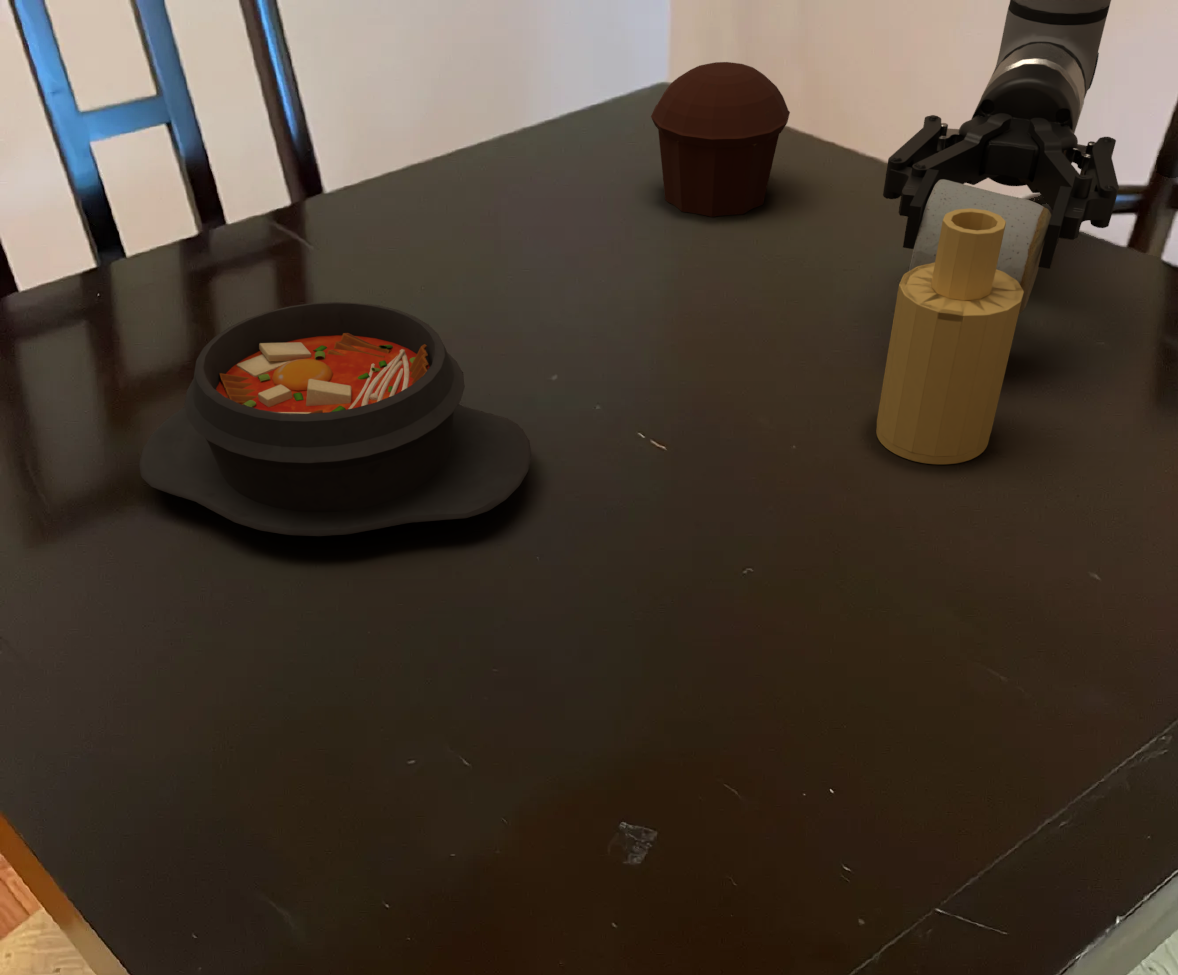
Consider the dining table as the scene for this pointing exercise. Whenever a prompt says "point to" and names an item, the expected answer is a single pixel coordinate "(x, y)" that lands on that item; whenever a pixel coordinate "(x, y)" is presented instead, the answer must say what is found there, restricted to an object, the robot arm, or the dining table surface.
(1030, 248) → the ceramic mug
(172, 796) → the dining table surface
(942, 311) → the bottle
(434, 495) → the casserole
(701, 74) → the muffin
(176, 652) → the dining table surface
